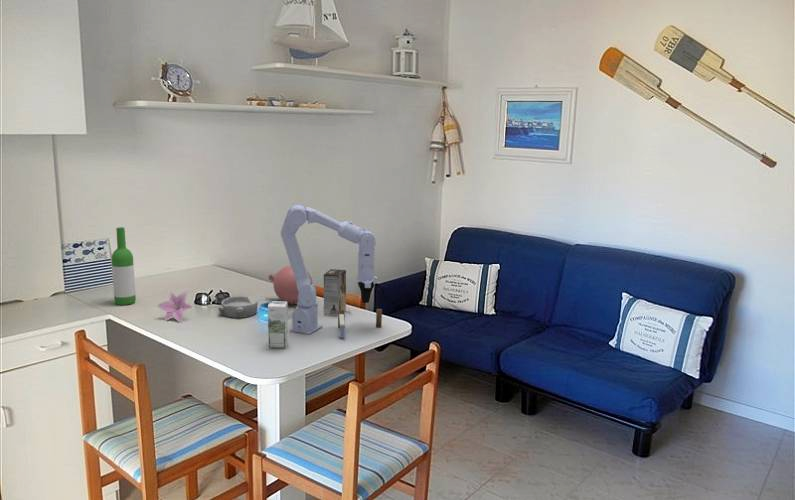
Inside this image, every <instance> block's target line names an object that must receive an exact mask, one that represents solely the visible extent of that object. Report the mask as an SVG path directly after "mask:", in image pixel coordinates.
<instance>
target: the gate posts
mask: <svg viewBox="0 0 795 500" xmlns="http://www.w3.org/2000/svg"><path fill="white" fill-rule="evenodd" d="M375 311H376V312H375V313H376V314H375V327H376V329H377V328H378V329H379V328H382V327H383V326H382V325H383V324H382V319H383V316H382V315H383V309H382V308H376V309H375ZM339 314H344V323H345V322H346V315H345V314H346V310H344V309H339V310H338V316H337V329H339V330H340V320H339ZM345 324H346V323H345ZM344 329H345V326H344Z"/></svg>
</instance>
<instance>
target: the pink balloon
mask: <svg viewBox="0 0 795 500" xmlns="http://www.w3.org/2000/svg"><path fill="white" fill-rule="evenodd" d="M307 273H308V276H309V278H310V280H311V283H312V284H313V278H312V276H311V274H310V272H309V271H308V270H307ZM268 280H269V281H270V282H273V290H274V293H275V294H276V297H277V298H278V299H280V300H281V301H284V302H287V304H291V305H297V302H298V294H299V292H298V289H297V284H296V280H295V277H294V273H293V270H292V267H291V264H290V265H287V266H283V268H281V269H280V270H278V272H276V273H274V274H273V273H269V275H268Z"/></svg>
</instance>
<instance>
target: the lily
mask: <svg viewBox="0 0 795 500" xmlns="http://www.w3.org/2000/svg"><path fill="white" fill-rule="evenodd" d="M188 293H189V291H188V290H185V291H183V292H181V293H180V294H178V295H177V296H176V294H174V293H173V292H171V291H170V292H169V296H168V300H167V301H162V302H160V303H158V304H157V305H156V307H157V308H158V309H160V310H162V311H164V312H166V313H165V317H164V322H167V321H168V320H171V318H174V319H175V320H176V321H177V322H178V323H183V320H184V312H185V311H189V310H192V309H193V306H192V305H191V304H188V303H187V302H186V300H187V296H188Z"/></svg>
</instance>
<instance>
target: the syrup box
mask: <svg viewBox="0 0 795 500" xmlns="http://www.w3.org/2000/svg"><path fill="white" fill-rule="evenodd" d="M288 304H289V303H287V302H284V301H282V300H281V301H275V300H273V301H270V302H269V303H268V305H267V331H268V332H267V336H268V340H267V341H268V348H270V349H286V348H287V345H288V343H289V336H288V333H289V332H288V329H289V328H288V326H289V325H288V311H289V310H288Z"/></svg>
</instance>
